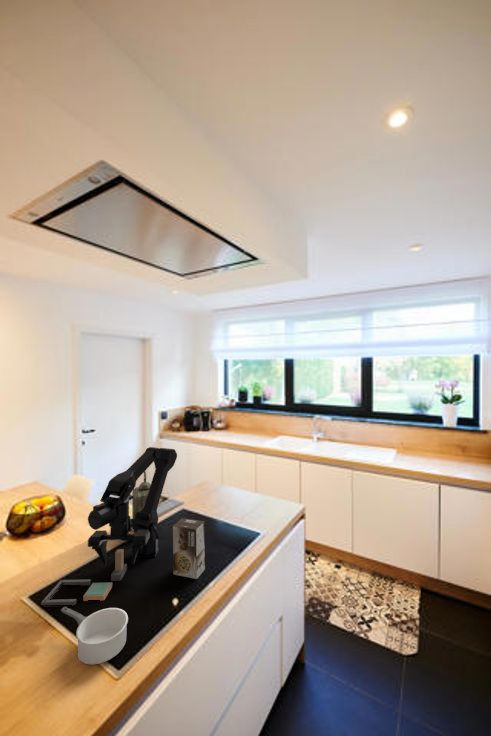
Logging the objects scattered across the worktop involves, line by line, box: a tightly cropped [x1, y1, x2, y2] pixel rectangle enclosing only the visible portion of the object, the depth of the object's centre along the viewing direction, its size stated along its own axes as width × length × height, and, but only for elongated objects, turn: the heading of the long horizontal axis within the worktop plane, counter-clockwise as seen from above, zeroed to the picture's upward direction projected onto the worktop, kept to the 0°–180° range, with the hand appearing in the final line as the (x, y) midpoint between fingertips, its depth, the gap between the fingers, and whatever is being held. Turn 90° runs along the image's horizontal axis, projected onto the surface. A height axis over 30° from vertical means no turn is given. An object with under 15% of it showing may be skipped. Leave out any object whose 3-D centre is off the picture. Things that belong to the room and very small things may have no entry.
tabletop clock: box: [131, 470, 151, 519], centre depth 136 cm, size 14×9×25 cm, turn 22°
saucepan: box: [60, 606, 129, 665], centre depth 78 cm, size 12×20×6 cm, turn 66°
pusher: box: [110, 548, 128, 582], centre depth 105 cm, size 3×6×8 cm, turn 2°
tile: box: [82, 582, 113, 602], centre depth 96 cm, size 6×6×2 cm
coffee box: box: [172, 517, 206, 580], centre depth 107 cm, size 9×6×16 cm
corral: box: [40, 578, 92, 607], centre depth 95 cm, size 10×10×1 cm
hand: (119, 564), depth 105 cm, fingers open, 9 cm apart
